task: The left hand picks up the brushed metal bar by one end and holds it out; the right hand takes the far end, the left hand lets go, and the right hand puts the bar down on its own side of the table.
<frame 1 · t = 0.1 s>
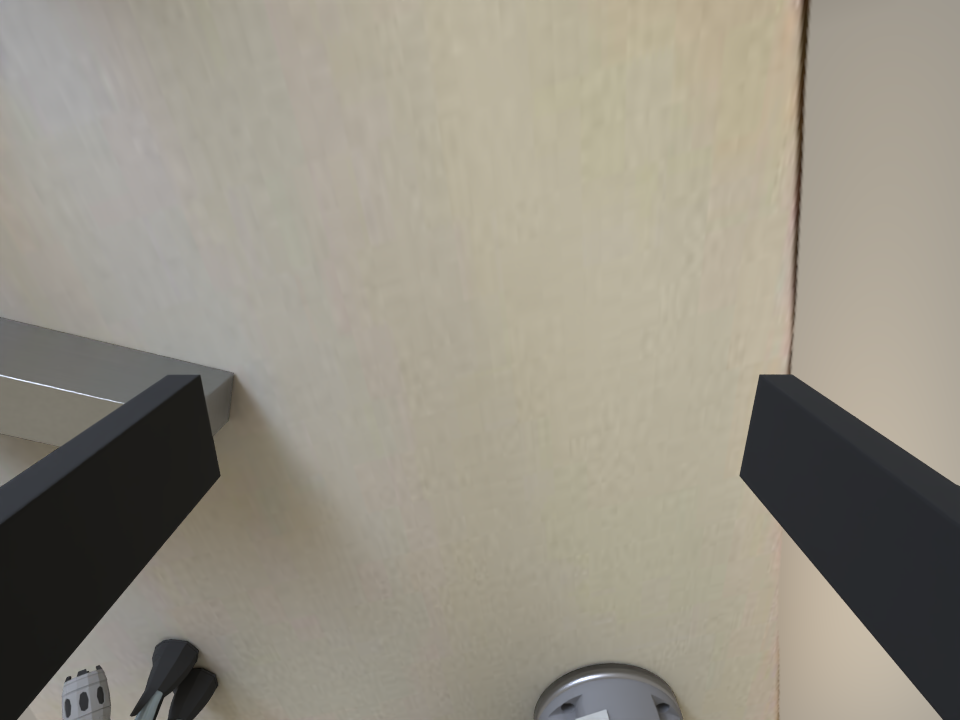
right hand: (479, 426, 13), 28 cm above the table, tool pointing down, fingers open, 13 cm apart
bar: (57, 356, 42), on the table
robot: (189, 665, 54), on the table
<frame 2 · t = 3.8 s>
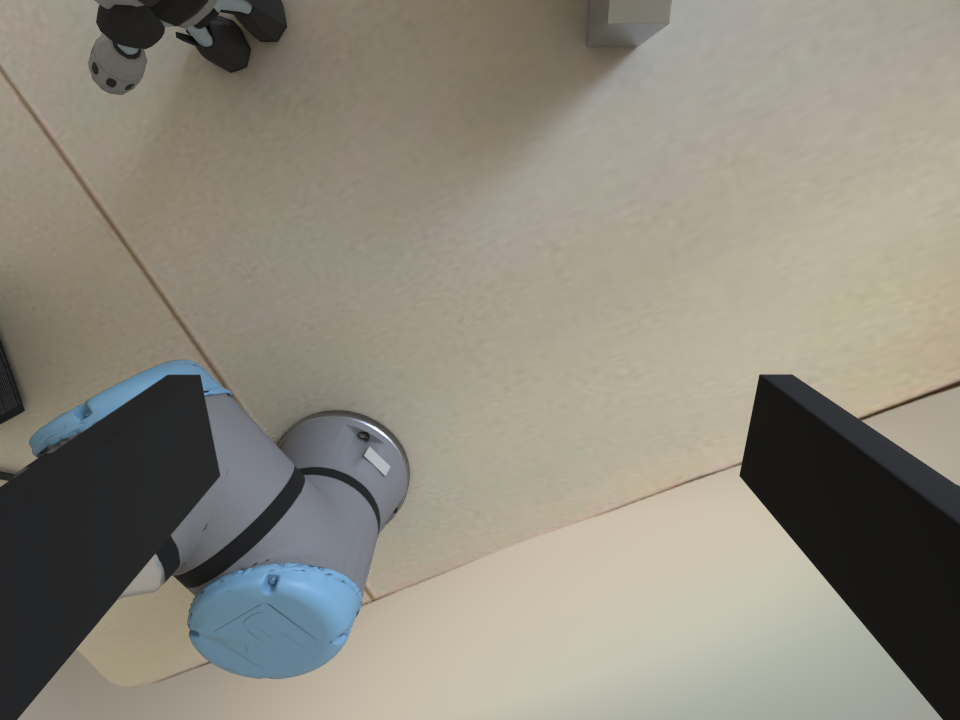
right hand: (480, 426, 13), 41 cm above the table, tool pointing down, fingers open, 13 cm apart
robot: (246, 31, 45), on the table
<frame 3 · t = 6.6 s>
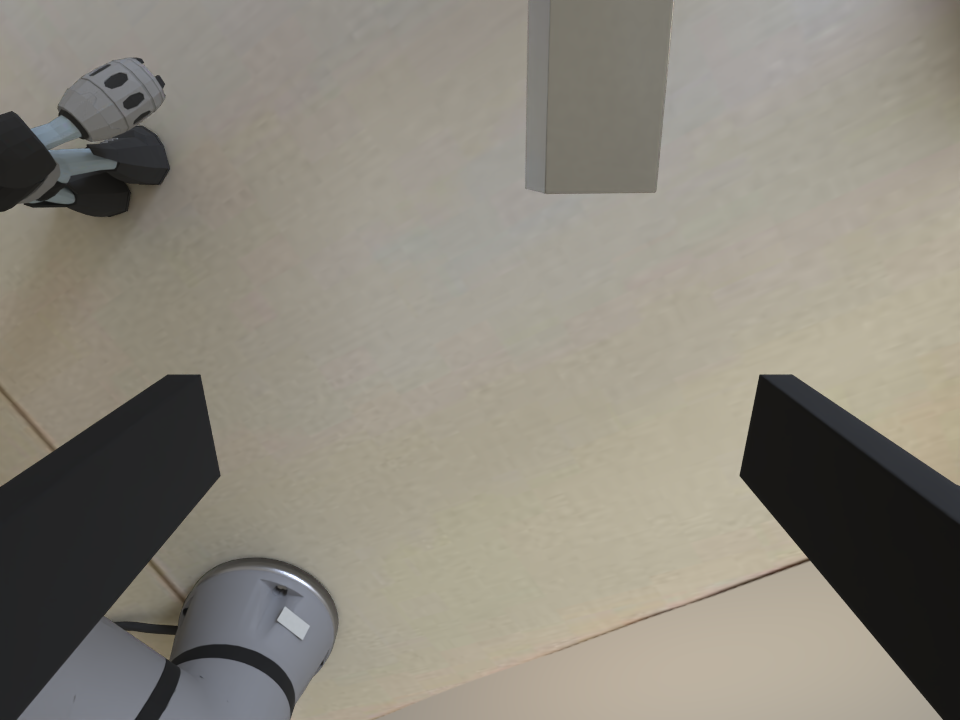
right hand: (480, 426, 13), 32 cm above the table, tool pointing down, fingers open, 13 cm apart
robot: (124, 173, 40), on the table
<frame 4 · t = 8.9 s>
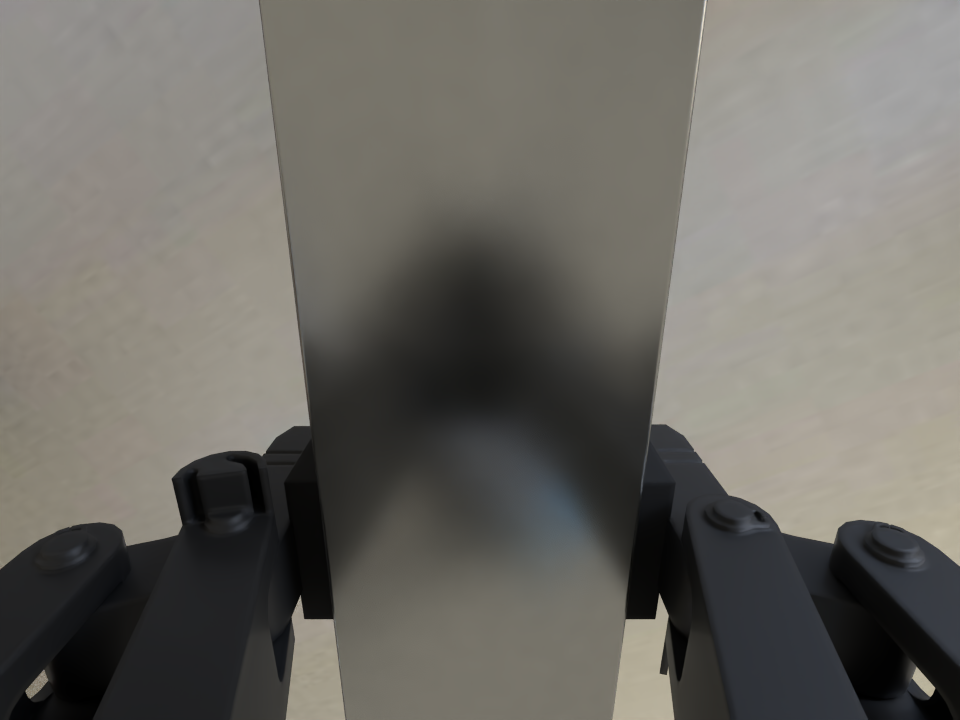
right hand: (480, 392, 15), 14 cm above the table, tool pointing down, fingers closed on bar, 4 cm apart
when the left hand's fingers open (16 cm above the table, at t = 9.7 s): bar stays where it is, held by the right hand.
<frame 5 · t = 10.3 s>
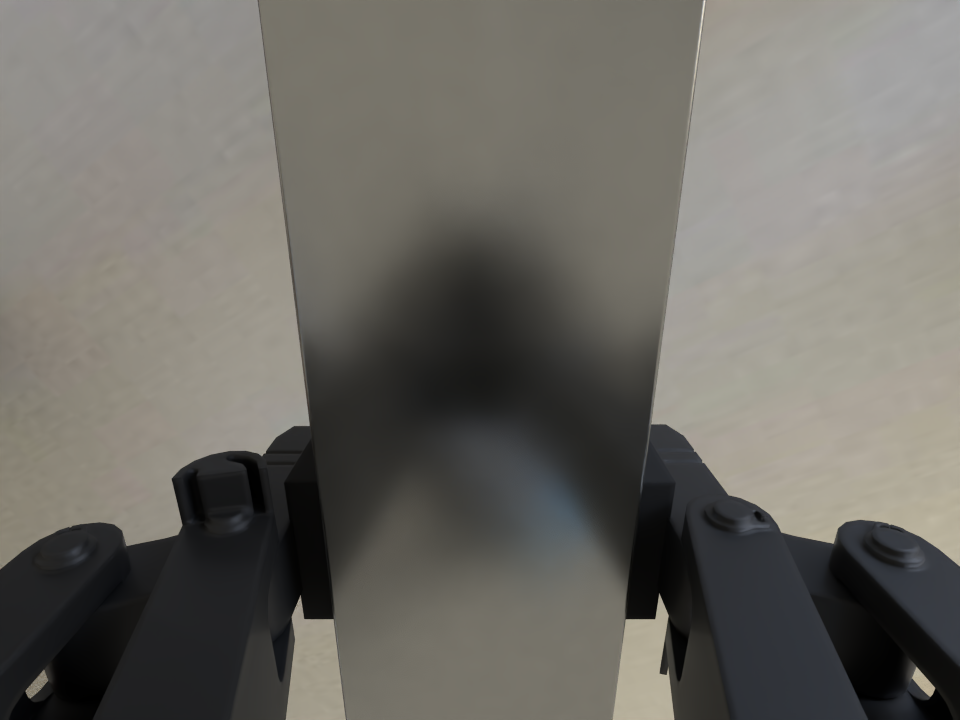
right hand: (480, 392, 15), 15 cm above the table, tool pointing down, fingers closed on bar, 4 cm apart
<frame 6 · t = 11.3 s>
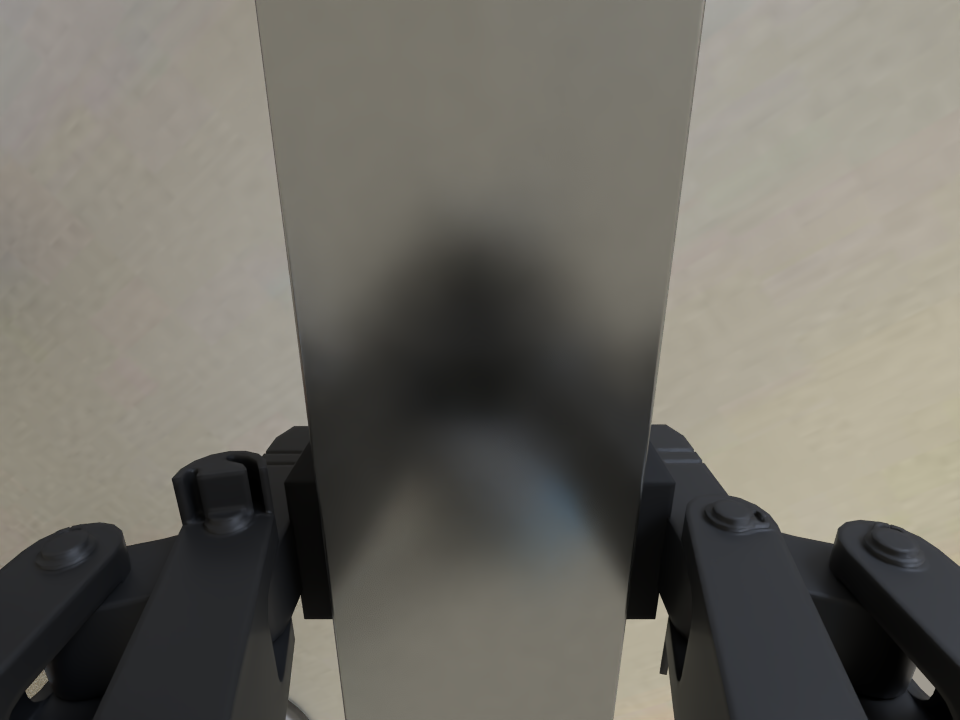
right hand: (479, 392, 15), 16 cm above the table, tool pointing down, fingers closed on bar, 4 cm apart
when the right hand's fingers open (2 cm above the table, at t = 14.0 s): bar drops 1 cm, on the table.
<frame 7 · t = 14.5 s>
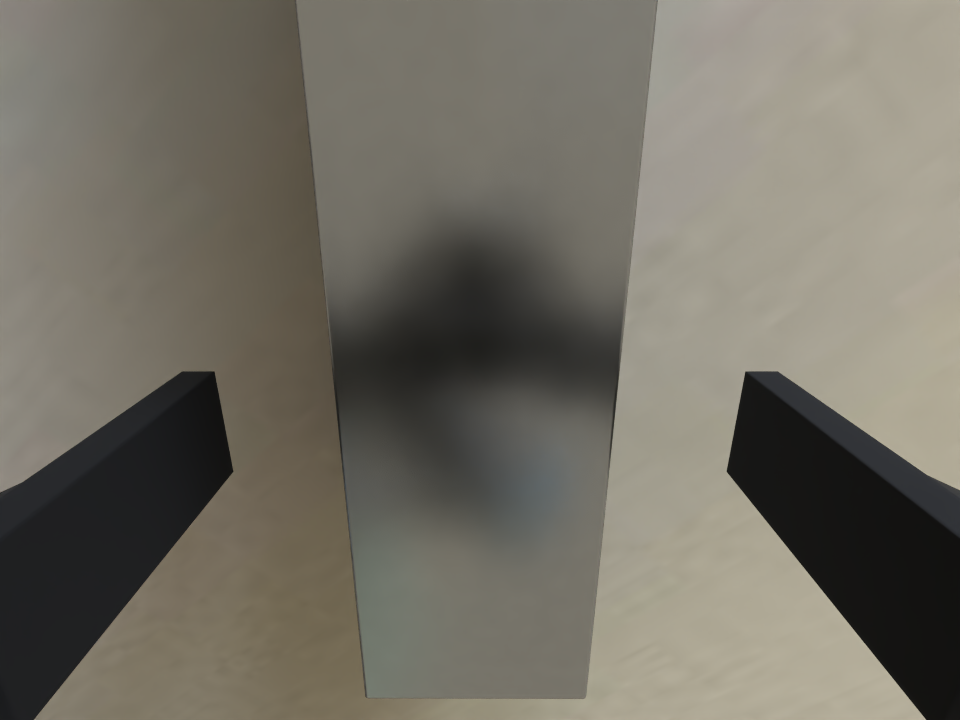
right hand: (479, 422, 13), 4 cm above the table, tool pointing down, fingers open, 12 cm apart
bar: (478, 12, 13), on the table
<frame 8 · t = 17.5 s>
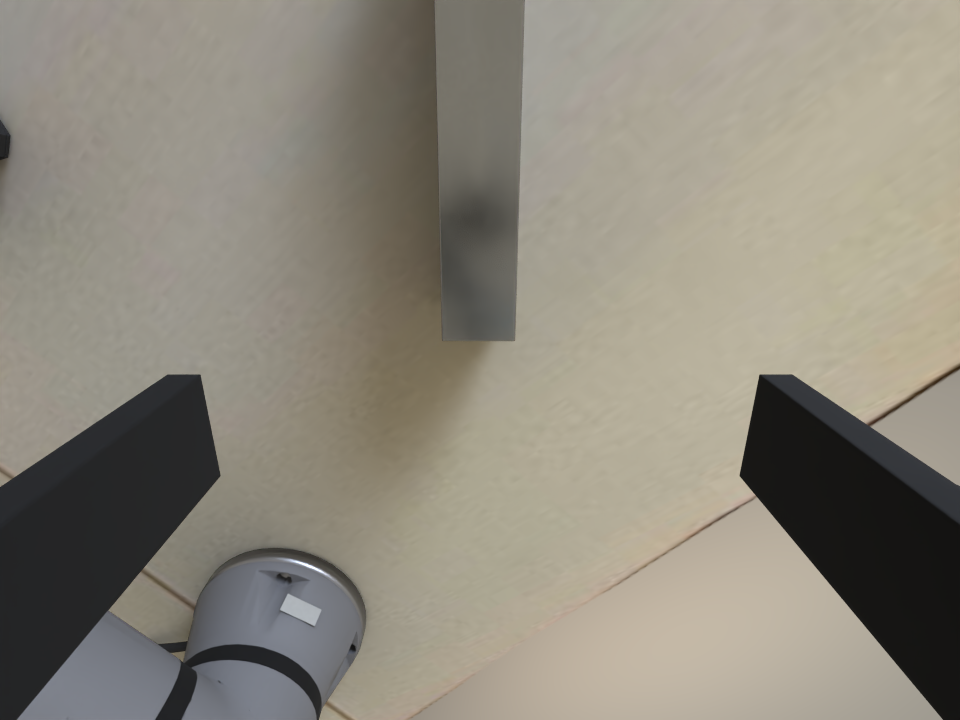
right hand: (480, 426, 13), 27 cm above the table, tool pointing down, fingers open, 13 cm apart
bar: (479, 106, 35), on the table
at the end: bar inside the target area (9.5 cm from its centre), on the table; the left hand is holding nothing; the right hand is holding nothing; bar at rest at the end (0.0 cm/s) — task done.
